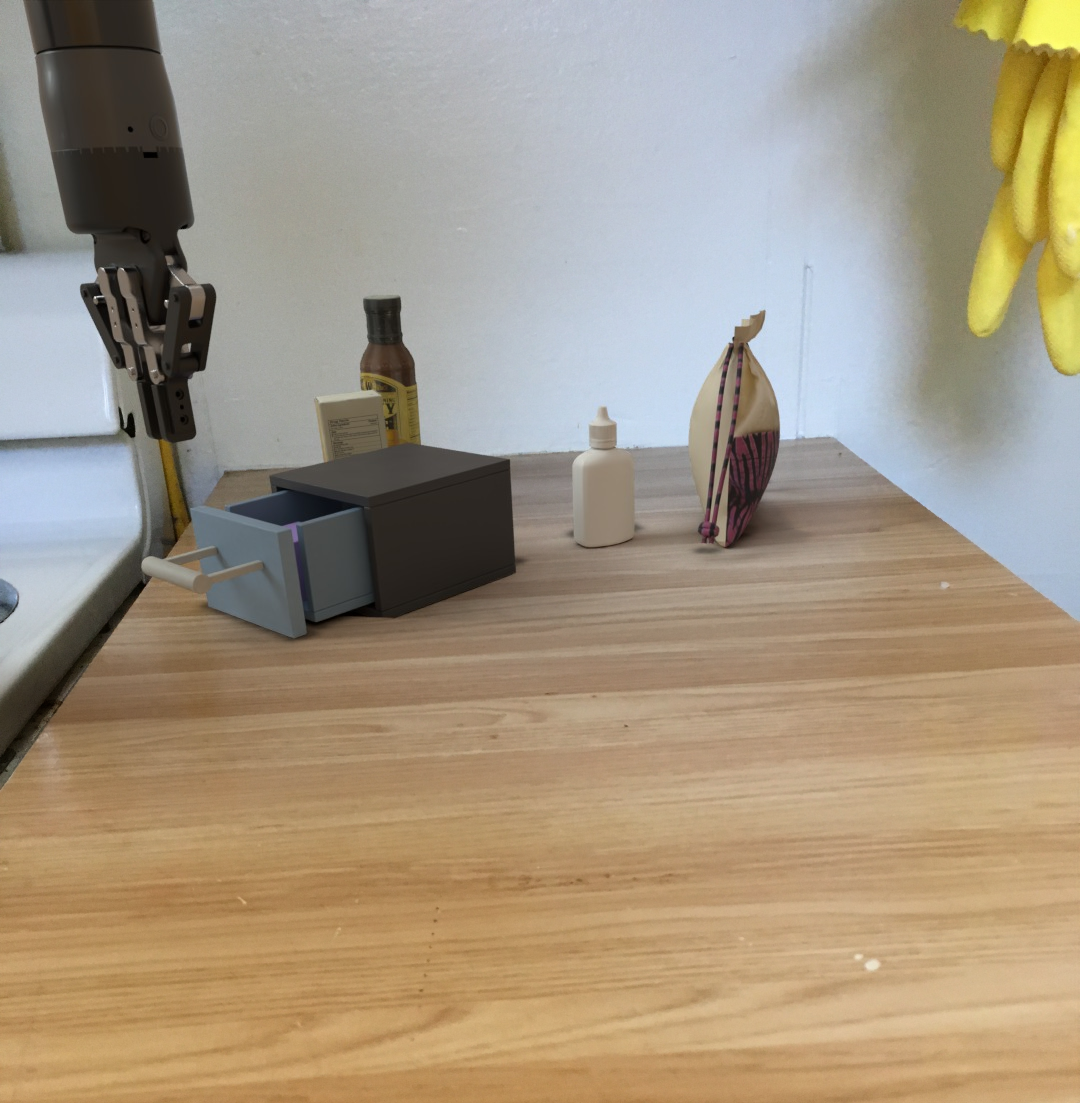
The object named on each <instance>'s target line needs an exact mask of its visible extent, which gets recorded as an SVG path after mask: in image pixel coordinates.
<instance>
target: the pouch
mask: <svg viewBox="0 0 1080 1103" xmlns="http://www.w3.org/2000/svg"><path fill="white" fill-rule="evenodd" d="M766 313H767V312H766V309H763V310H759V313H757V314H750V316H749V318H741V324H740V326H739V325H736V326H735V325H734V333H733V335H734V336H732V337H731V341H732V342H730V341H729V342H728V343H727V344H726V346H725V347H724V348H723V350H722V352H721V354H720V356H719V358H718V359H717V361H716V362H715V363H714V365H713V366H712V368H711V370H710V371H709V373H708V374H707V376H706V378H705V379H704V381H703V383H702V385H701V387H700V389H699V391H698V393H697V396H696V398H695V401H694V404H693V407H692V410H691V414H690V419H689V427H688V454H689V455H688V456H689V462H690V464H689V465H690V469H691V473H692V474H691V475H692V479H693V482H694V484H695V485H694V486H695V489H696V490H695V491H696V493H697V496H698V500H699V503H700V506H701V509H702V511H703V514H704V521H703V522H701V523H700V524H699V525H698V528H697V532H698V533H699V535H701V536H702V537H701V544H712V545H713V544H715V542H717V544H718V545H719V546H721V547H723V548H726V547H731V546H733V544H735V543H736V542H737V541H738V540H739V539H740V537H741V535H742V534H743V533H744V532H745V529H746V528H747V526H748V524H749V522H750V521H751V519H752V517H753V515H754V513H755V512H756V510H757V508H758V506H759V504H760V502H761V501H762V498H763V496H764V494H765V492H766V489H767V488H768V485H769V483H770V480H771V478H772V476H773V472H774V469H775V466H776V463H777V458H778V454H779V448H780V440H781V421H780V420H781V419H780V411H779V406H778V404H779V403H778V400H777V396H776V393H775V391H774V388H773V386H772V384H771V381H770V379H769V377H768V376H767V374H766V371H765V370H764V368H763V367H762V365H761V364H760V362H759V361H758V359H757V357H756V356H755V355H754V353H753V351H752V349H751V348H750V345H749V343H750V342H751V341H752V340H753V339H755V338H756V337H757V336H758V334H759V333H760V332H761V331H762V330H763V326H764V323H765V320H766Z"/></svg>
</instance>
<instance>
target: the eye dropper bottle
mask: <svg viewBox="0 0 1080 1103" xmlns="http://www.w3.org/2000/svg"><path fill="white" fill-rule="evenodd" d="M596 412H597V413H596V417H595V419H594V420H592V421H590V422H589V423H588V446H589V449H587V450H585V451H583V452H582V453H580V454H579V455H578V456H576V458H575V459H574V460H573V462H572V466H571V471H572V472H571V475H572V476H571V481H572V482H571V483H572V485H571V486H572V516H573V517H572V520H573V521H572V522H573V523H572V524H573V526H572V527H573V540H574V542H575V543H576V544H578V545H580V546H583V547H585V548H599V547H600V548H602V547H608V546H613V545H618V544H621V543H624V542H627V541H629V540H631V539H633V538H634V536H635V533H636V532H635V531H636V530H635V522H636V521H635V518H636V517H635V515H636V514H635V512H636V511H635V510H636V509H635V460H634V457H633V455H632V453H630V452H629V451H627V450H625V449H623V448H619V447H616V446H618V445H617V444H618V438H617V436H618V434H617V433H618V432H617V428H618V427H617V425H618V424H617V422H616V421H614V420H612V419H611V418H610V417H609V413H608V407H607V406H606V405H599V406H597V411H596Z"/></svg>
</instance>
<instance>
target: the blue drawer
mask: <svg viewBox="0 0 1080 1103" xmlns="http://www.w3.org/2000/svg"><path fill="white" fill-rule="evenodd" d="M364 507H365V506H360V505H356V504H352V503H347V502H343V501H339V500H334V499H330V498H326V497H321V496H317V495H312V494H308V493H304V492H299V491H295V490H291V489H288V490H284V491H280V492H276V493H272V492H271V493H267V494H264V495H260V496H257V497H252V498H248V499H244V500H240V501H236V502H232V503H228V504H227V503H226V504H224V510H223V509H218V508H215V507H211V506H208V505H204V504H202V505H199V506H198V505H197V506H193V507H190V508H189V512H190V518H191V523H192V526H193V534H194V538H195V543H196V549H195V550H191V551H188V552H183V553H181V554H177V555H173V556H169V557H166V558H163V559H162V558H159V557H156V556H153V555H152V556H151V555H149V556H146V557H145V558H144V559H143V560H142V562H141V566H140V567H141V570H142V573H144V575H146V576H148V577H151V578H154V579H156V580H160V581H161V582H164V583H168V584H170V585H172V586H173V585H174V586H176V587H178V588H181V589H184V590H187V591H189V592H192V593H195V594H198V595H205V596H206V601H207V606H208V607H209V608H211V609H213V610H217V611H219V612H222V613H224V614H227V615H230V616H233V617H235V618H238V619H240V620H244V621H246V622H249V623H251V624H254V625H256V626H259V627H262V628H265V629H267V630H270V631H273V632H275V633H277V634H281V635H283V636H286V637H287V638H291V639H293V640H295V639H297V638H299V637H302V636H305V635H307V634H308V632H307V625H306V624H307V623H306V620H308V621H310V622H313V623H318V622H321V621H324V620H327V619H330V618H333V617H336V616H339V615H341V614H344V613H347V612H351V611H350V610H353V609H356V608H358V607H361V606H364V605H367V604H370V603H373V602H375V598H374V590H373V581H372V573H371V564H370V555H369V547H368V538H367V530H366V521H365V512H364ZM295 522H301V523H297V524H296V529H297V536H298V543H299V549H300V556H301V563H302V570H303V577H304V584H305V591H306V597H307V600H305V601H302V596H301V590H300V583H299V576H298V569H297V563H296V556H295V549H294V542H293V536H292V529H290V528H286V527H283V526H284V525H288V524H291V523H295ZM195 561H199V565H200V569H201V571H197V570H194V569H191V568H188V567H186V566H182V565H184V564H188V563H191V562H192V563H193V562H195Z"/></svg>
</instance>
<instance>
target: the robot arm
mask: <svg viewBox="0 0 1080 1103" xmlns="http://www.w3.org/2000/svg"><path fill="white" fill-rule="evenodd" d="M22 2H23V6H24V11H25V16H26V21H27V26H28V30H29V34H30V40H31V45H32V49H33V53H34V55H35V56H34V59H35V65H36V74H37V75H36V76H37V85H38V95H39V103H40V109H41V115H42V119H43V123H44V127H45V133H46V136H47V142H48V146H49V150H50V151H49V152H50V156H51V160H52V165H53V170H54V174H55V179H56V183H57V189H58V194H59V197H60V202H61V207H62V212H63V216H64V221H65V226H66V227H67V229H68V230H69V231H70V232H71V233H73V234H74V235H91V237H92V239H93V253H94V254H93V264H94V269H95V271H96V272H95V273H96V274H97V276H96V278H95V279H94V282H85V283H81V284H80V286H79V292H80V297H81V299H82V301H83V303H84V305H85V307H86V310H87V311H88V314H89V316H90V318H91V319H92V323H93V324H94V326H95V328H96V330H97V333H98V335H99V337H100V339H101V341H102V343H103V345H104V347H105V349H106V351H107V353H108V355H109V357H110V360H111V361H112V364H113V366H114V367H115V368H116V369H117V370H122V369H125V370H126V371H127V375H128V377H129V379H130V380H131V381H132V382H136V384H135V385H136V390H137V394H138V398H139V403H140V408H141V413H142V419H143V424H144V429H145V433H146V435H147V437H148V438H149V439H152V440H157V441H160V440H163V441H164V442H166V443H171V444H175V443H181V442H186V441H190V440H193V439H195V437H196V436H197V427H196V421H195V416H194V410H193V405H192V399H191V394H190V387H189V380H192V379H193V377H194V373H200V372H204V371H205V370H206V368H207V362H208V356H209V348H210V342H211V336H212V330H213V324H214V317H215V311H216V305H217V304H216V303H217V291H216V288H215V287H214V285H213V284H212V283H209V282H207V283H197V282H196V281H195V279H193V278H192V277H191V275H190V274H189V273H188V270H189V269H188V268H189V267H188V261H187V258H186V256H185V253H184V251H183V248H182V246H181V242H180V240H179V237H178V233H179V230H180V231H181V230H188V229H191V228H192V227H193V226H194V223H195V214H194V213H195V212H194V208H193V201H192V196H191V191H190V183H189V177H188V172H187V166H186V160H185V154H184V147H183V142H182V135H181V129H180V123H179V117H178V112H177V106H176V101H175V97H174V93H173V92H174V91H173V89H172V85H171V82H170V79H169V76H168V71H167V68H166V64H165V59H164V56H163V55H162V54H163V47H162V42H161V36H160V31H159V25H158V18H157V13H156V8H155V7H156V6H155V2H154V0H22ZM189 345H190V348H189Z"/></svg>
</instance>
